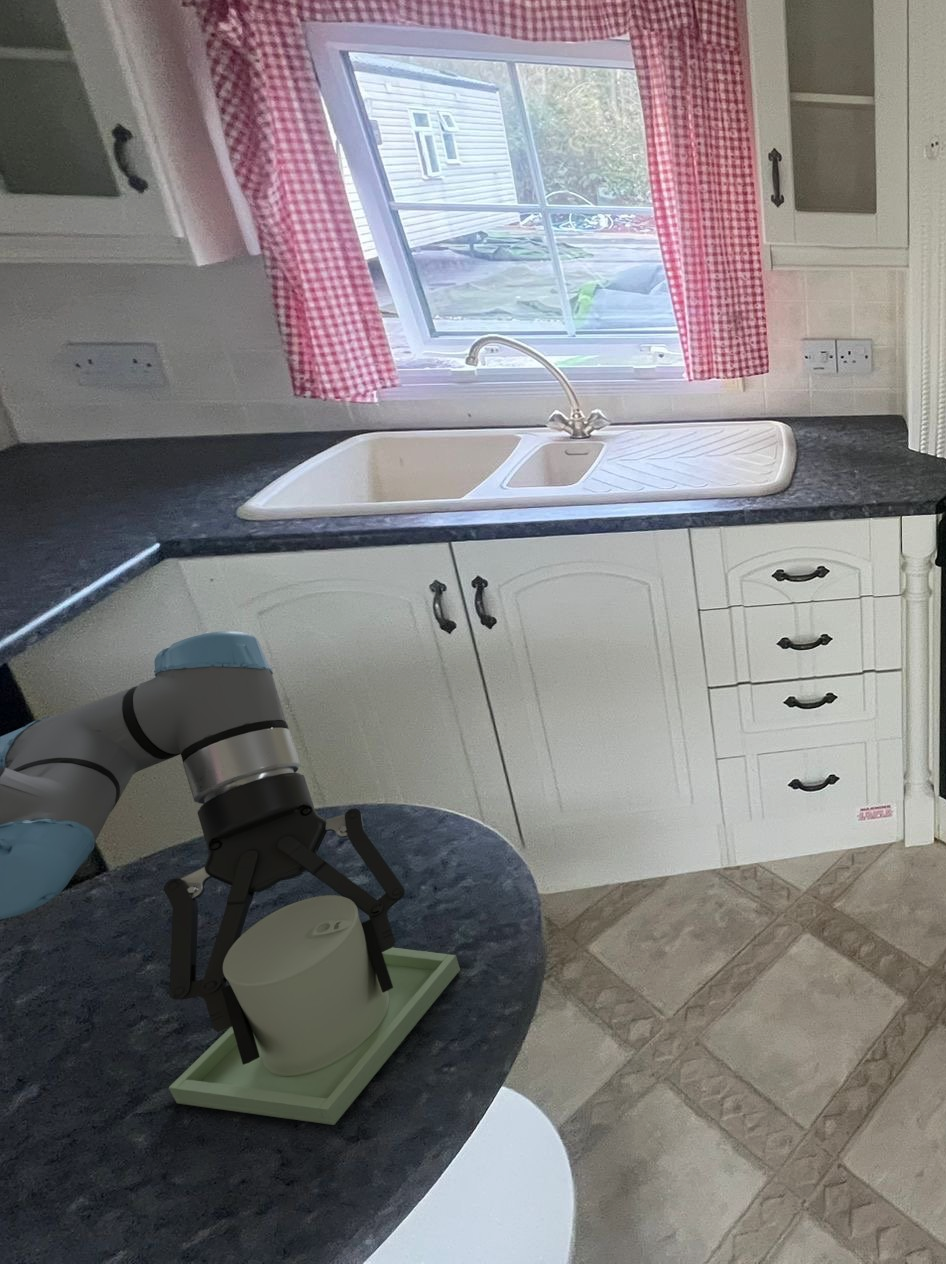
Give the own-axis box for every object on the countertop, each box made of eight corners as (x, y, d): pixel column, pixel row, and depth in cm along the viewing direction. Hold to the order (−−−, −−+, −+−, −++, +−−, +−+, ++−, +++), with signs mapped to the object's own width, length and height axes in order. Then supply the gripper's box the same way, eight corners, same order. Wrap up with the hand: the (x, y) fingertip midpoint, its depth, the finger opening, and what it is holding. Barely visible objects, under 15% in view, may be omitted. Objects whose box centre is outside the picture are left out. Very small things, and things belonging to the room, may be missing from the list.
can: (372, 1056, 74) (336, 961, 69) (243, 1092, 71) (197, 996, 66) (402, 968, 82) (371, 879, 77) (287, 998, 79) (248, 906, 74)
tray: (176, 1103, 70) (167, 1087, 69) (326, 953, 84) (320, 938, 83) (334, 1125, 69) (327, 1109, 68) (460, 969, 83) (456, 954, 82)
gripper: (391, 747, 87) (462, 952, 83) (96, 853, 73) (162, 1108, 68) (388, 730, 82) (464, 948, 77) (69, 841, 67) (139, 1117, 63)
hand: (322, 1023), depth 73 cm, fingers closed on can, 9 cm apart
